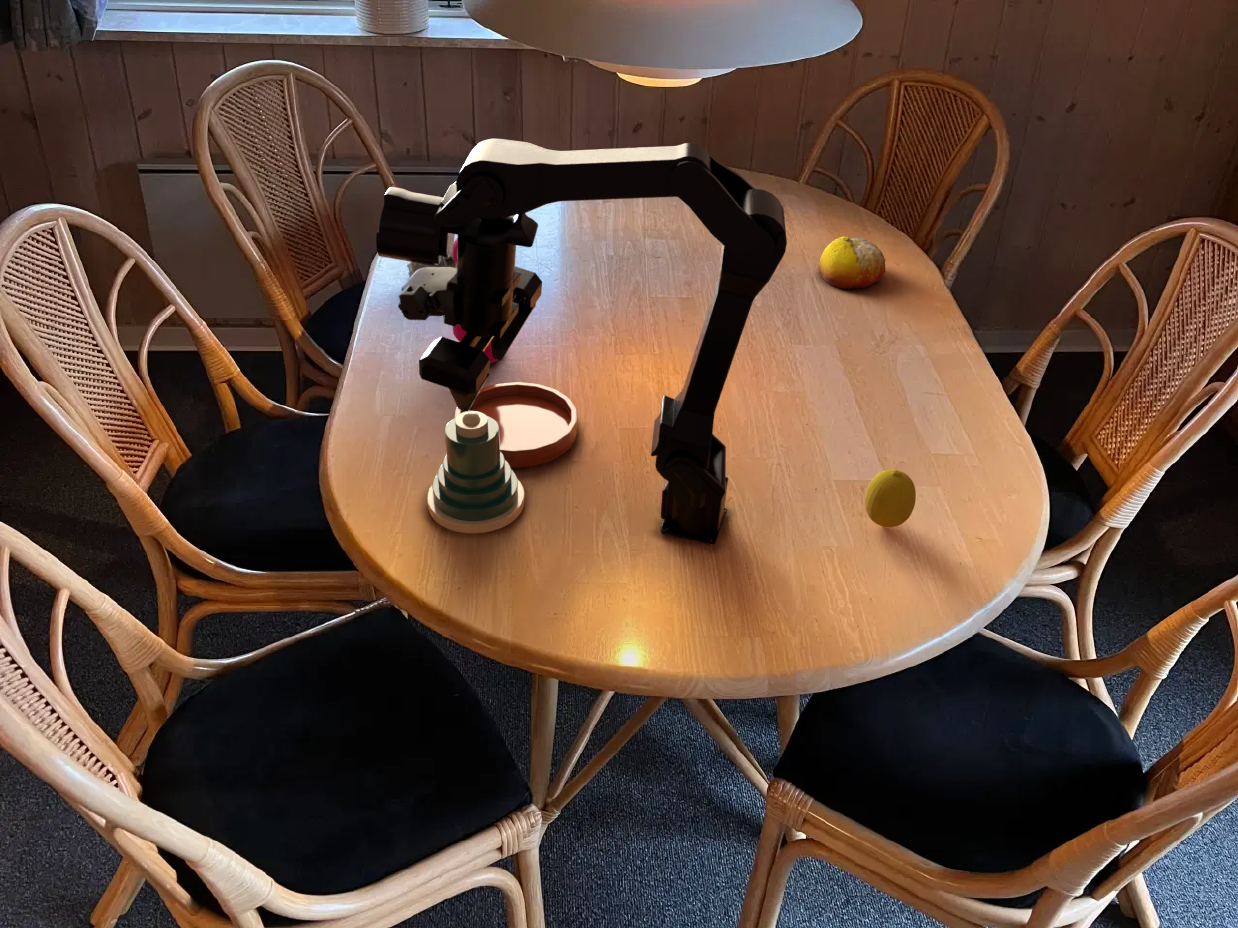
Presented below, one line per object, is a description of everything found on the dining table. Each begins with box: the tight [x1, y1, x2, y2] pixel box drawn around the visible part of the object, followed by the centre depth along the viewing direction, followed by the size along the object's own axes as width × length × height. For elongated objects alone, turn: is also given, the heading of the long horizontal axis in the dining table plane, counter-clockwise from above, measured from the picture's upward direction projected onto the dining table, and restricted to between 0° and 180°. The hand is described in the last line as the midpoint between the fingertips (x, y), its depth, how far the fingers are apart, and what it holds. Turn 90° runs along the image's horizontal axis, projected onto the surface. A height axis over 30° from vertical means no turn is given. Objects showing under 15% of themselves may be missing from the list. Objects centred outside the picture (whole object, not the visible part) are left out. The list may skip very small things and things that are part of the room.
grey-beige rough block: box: [406, 252, 457, 279], centre depth 165 cm, size 10×7×12 cm
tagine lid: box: [426, 411, 525, 534], centre depth 119 cm, size 11×11×13 cm
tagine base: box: [453, 381, 578, 468], centre depth 134 cm, size 15×16×3 cm
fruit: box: [818, 235, 886, 290], centre depth 172 cm, size 11×10×8 cm
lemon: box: [864, 468, 917, 528], centre depth 120 cm, size 6×6×8 cm
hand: (481, 383), depth 116 cm, fingers open, 9 cm apart
